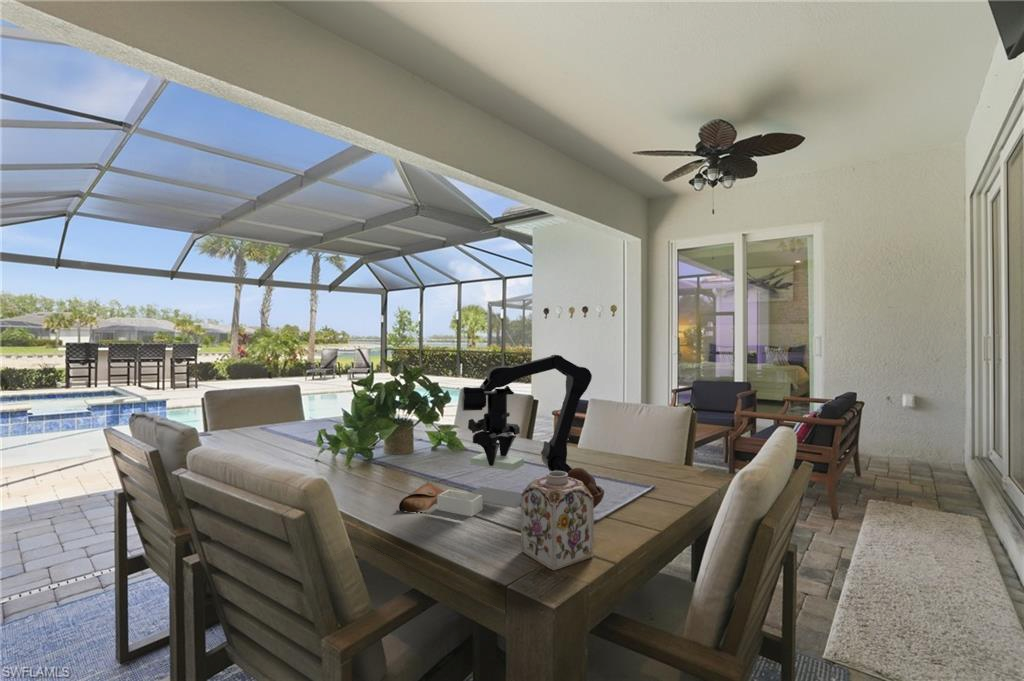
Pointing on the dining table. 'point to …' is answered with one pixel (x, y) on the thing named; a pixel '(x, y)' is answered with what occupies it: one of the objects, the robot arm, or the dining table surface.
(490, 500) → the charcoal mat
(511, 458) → the sage lid
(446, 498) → the white rectangular box
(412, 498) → the sunglasses case
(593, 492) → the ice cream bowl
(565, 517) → the decorative jar
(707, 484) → the dining table surface
